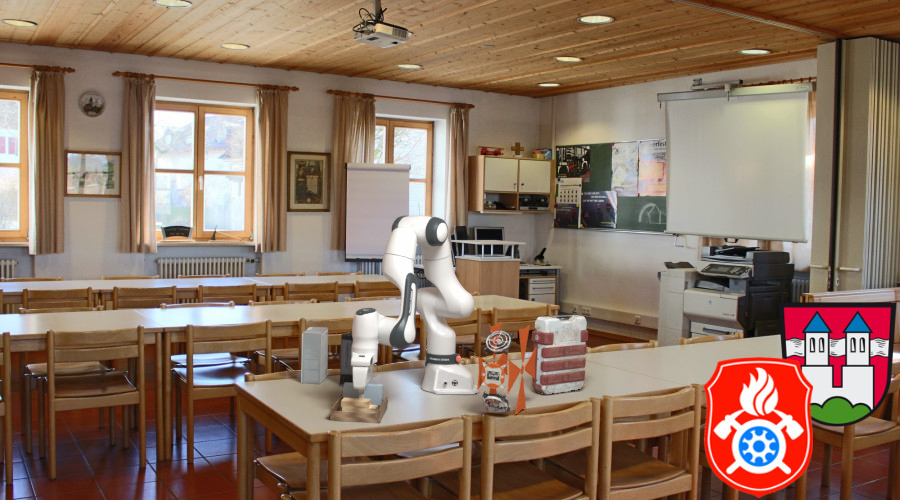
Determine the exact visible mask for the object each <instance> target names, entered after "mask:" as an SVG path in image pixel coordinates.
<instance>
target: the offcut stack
mask: <svg viewBox="0 0 900 500" xmlns="http://www.w3.org/2000/svg"><path fill="white" fill-rule="evenodd" d="M341 407H342V409H340V410H339V411H345V412H364V413H378V405H371V399H365V398H347V397H344V398H343V399H342V400H341Z"/></svg>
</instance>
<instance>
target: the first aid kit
mask: <svg viewBox="0 0 900 500" xmlns="http://www.w3.org/2000/svg"><path fill="white" fill-rule="evenodd" d="M587 323H588V322H587V319H586V317H585V316H584V315H578V314H577V315H576V314H559V315H550V316H538V317H537V318H536V320H535V322H534V330H533V331H531V332H532V333H531V341H532V342H533V351H534V350H535V348H536V347H537V348H536V357H535V379H534V378H533V377H532V376H531V377H532V380H531V383H532V384H531V387H532V388H533V389H534V391H535V392H536V393H538V392H539V393H538V394H540V393H543V394H542V395H545V394H546V395H551V394H552V393H554V394H557V393H558V392H565V391H569V392H572V391H571V390H575V391H578V390H577V389H580V390H581V388H582V387H583V385H584V384H585V383H584V381H585V379H586V371H585V368H586V362H587V361H586V360H587V359H586V353H587V343H586V342H588V340H589V331H588V330H587ZM552 395H553V394H552Z"/></svg>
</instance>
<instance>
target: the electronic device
mask: <svg viewBox="0 0 900 500" xmlns="http://www.w3.org/2000/svg"><path fill="white" fill-rule="evenodd" d="M340 339H341V340H340V363H339V367H340V368H339V386H340V387H343V385H344V383H345V382H347V383H353V366H351V351H352V344H353V337H352V330H351V331H346V332H344V333H341V336H340Z"/></svg>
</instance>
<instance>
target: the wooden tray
mask: <svg viewBox="0 0 900 500" xmlns="http://www.w3.org/2000/svg"><path fill="white" fill-rule="evenodd" d="M342 399H343V394H341V395H340V396H339V397H338V399H337V400H336V401H335V403H333V405H332V406H331V408H330V415H329V416H330V419H329V420H333V422H347V421H350V423H369V424H381V422H382V420H383V418H384V416H385V414H386V412H387V410H388V407H389V406H388V404H389V403H388V400H389V397H388V396H385V397H384V398H382V404H381V405H378V413H364V412H345V411H339V410H340V409H342V407H341V400H342Z"/></svg>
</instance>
